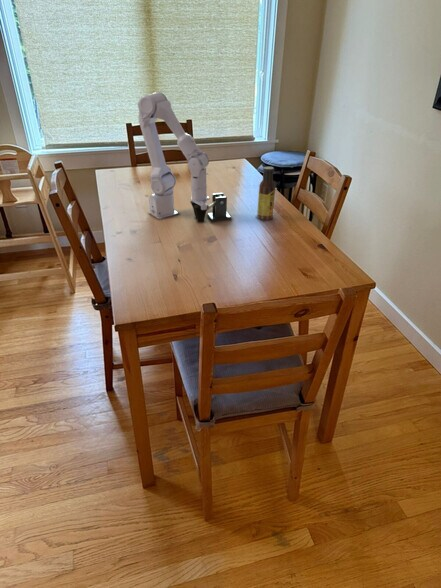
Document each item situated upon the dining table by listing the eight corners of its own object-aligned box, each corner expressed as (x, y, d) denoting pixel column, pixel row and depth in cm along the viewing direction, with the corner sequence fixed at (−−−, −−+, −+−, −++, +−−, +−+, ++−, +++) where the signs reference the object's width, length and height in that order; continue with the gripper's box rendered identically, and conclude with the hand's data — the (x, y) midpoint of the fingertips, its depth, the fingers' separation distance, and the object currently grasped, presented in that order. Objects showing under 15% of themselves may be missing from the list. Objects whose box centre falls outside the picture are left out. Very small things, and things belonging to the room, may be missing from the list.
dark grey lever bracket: (211, 221, 159) (211, 199, 154) (207, 215, 164) (207, 193, 158) (231, 219, 161) (231, 197, 156) (226, 213, 166) (226, 191, 160)
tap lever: (200, 219, 159) (196, 214, 157) (198, 216, 161) (194, 211, 159) (225, 202, 158) (221, 196, 156) (223, 199, 160) (219, 193, 158)
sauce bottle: (271, 221, 160) (276, 171, 149) (256, 220, 161) (259, 170, 150) (273, 215, 165) (277, 166, 154) (258, 213, 166) (261, 164, 155)
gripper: (214, 192, 148) (214, 226, 156) (204, 179, 159) (204, 212, 167) (195, 194, 146) (196, 228, 154) (186, 181, 158) (187, 214, 165)
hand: (199, 220), depth 160 cm, fingers closed on tap lever, 3 cm apart
